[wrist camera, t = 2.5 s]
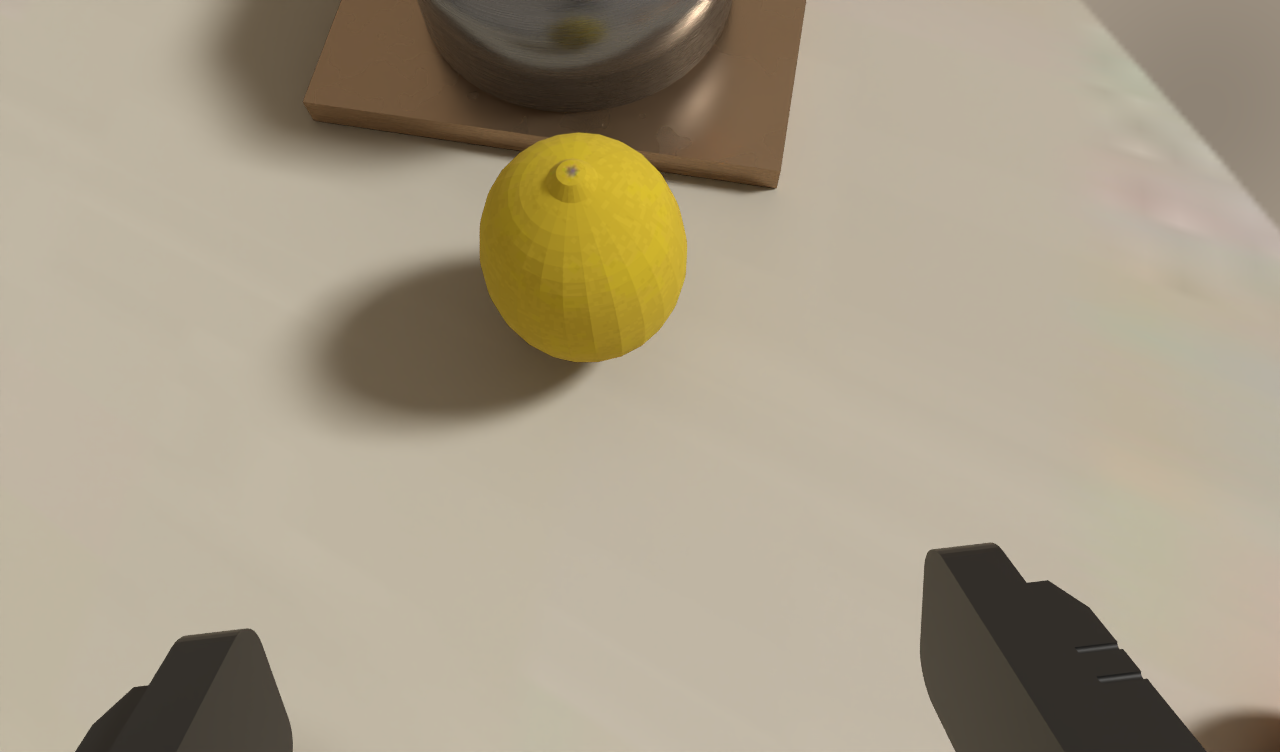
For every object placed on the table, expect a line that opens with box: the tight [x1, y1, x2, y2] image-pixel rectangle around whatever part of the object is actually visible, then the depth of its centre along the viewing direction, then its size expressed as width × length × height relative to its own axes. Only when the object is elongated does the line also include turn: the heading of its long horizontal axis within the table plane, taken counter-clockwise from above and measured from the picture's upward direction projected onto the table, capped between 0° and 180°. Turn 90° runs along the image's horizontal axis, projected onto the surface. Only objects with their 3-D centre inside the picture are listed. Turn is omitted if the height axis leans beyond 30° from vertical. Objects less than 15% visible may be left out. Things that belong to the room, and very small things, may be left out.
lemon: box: [480, 132, 687, 362], centre depth 24 cm, size 6×6×8 cm
